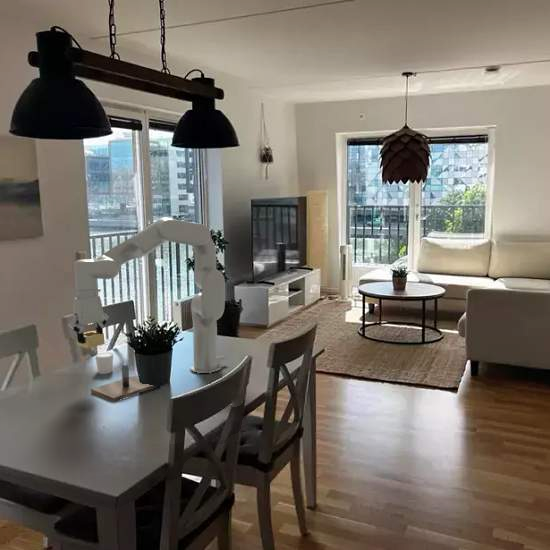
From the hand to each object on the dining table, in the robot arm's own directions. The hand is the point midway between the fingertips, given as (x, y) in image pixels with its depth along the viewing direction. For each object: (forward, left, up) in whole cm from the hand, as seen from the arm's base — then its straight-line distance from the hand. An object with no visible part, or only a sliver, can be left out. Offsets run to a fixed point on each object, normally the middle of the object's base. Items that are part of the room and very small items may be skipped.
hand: (90, 340), depth 209 cm
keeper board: (-6, +13, -18) cm, 22 cm away
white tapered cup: (-13, -11, -18) cm, 25 cm away
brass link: (0, 0, -2) cm, 2 cm away
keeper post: (-6, +13, -16) cm, 21 cm away
